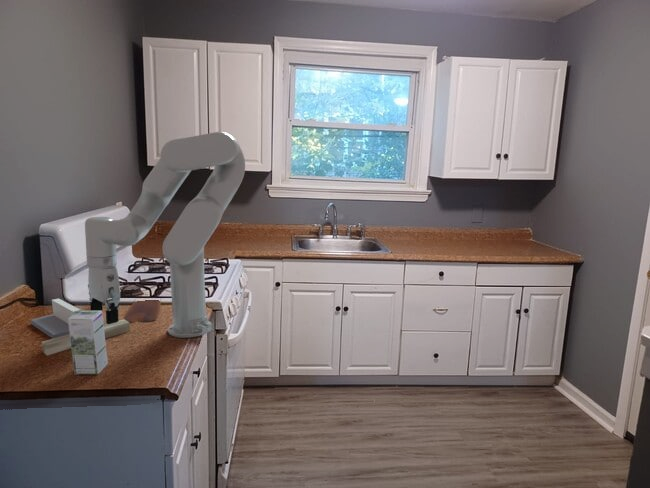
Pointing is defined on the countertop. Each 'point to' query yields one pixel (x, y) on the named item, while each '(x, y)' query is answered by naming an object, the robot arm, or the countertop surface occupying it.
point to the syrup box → (87, 342)
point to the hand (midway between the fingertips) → (104, 318)
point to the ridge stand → (56, 319)
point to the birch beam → (65, 343)
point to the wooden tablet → (143, 311)
